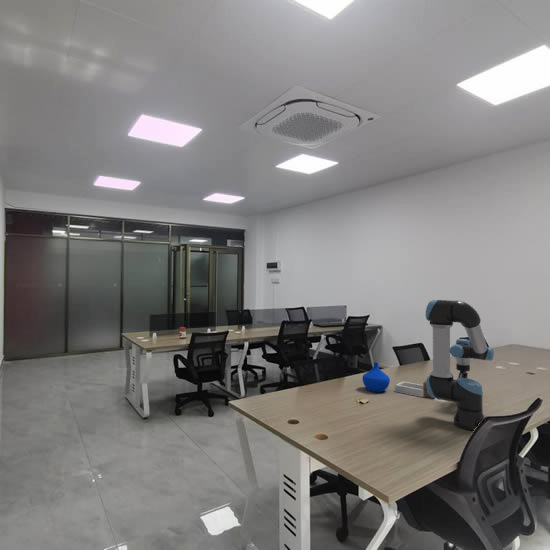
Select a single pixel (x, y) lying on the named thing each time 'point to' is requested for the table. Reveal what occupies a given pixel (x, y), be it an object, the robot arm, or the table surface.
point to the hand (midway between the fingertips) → (463, 401)
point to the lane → (410, 388)
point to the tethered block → (426, 391)
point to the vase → (376, 379)
